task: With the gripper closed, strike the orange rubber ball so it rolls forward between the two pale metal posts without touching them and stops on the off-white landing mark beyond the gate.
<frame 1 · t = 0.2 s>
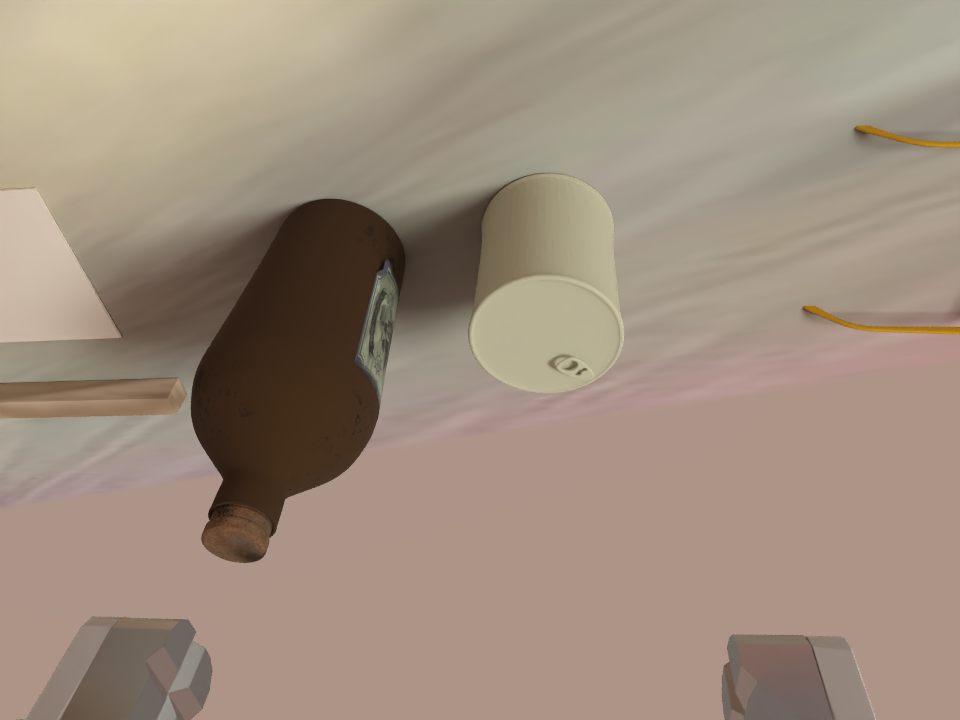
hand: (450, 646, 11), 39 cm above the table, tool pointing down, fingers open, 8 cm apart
landing mark: (0, 272, 58), on the table
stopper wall: (79, 389, 66), on the table
olive oil: (344, 252, 54), on the table
eyeglasses: (935, 217, 49), on the table
can: (547, 230, 51), on the table
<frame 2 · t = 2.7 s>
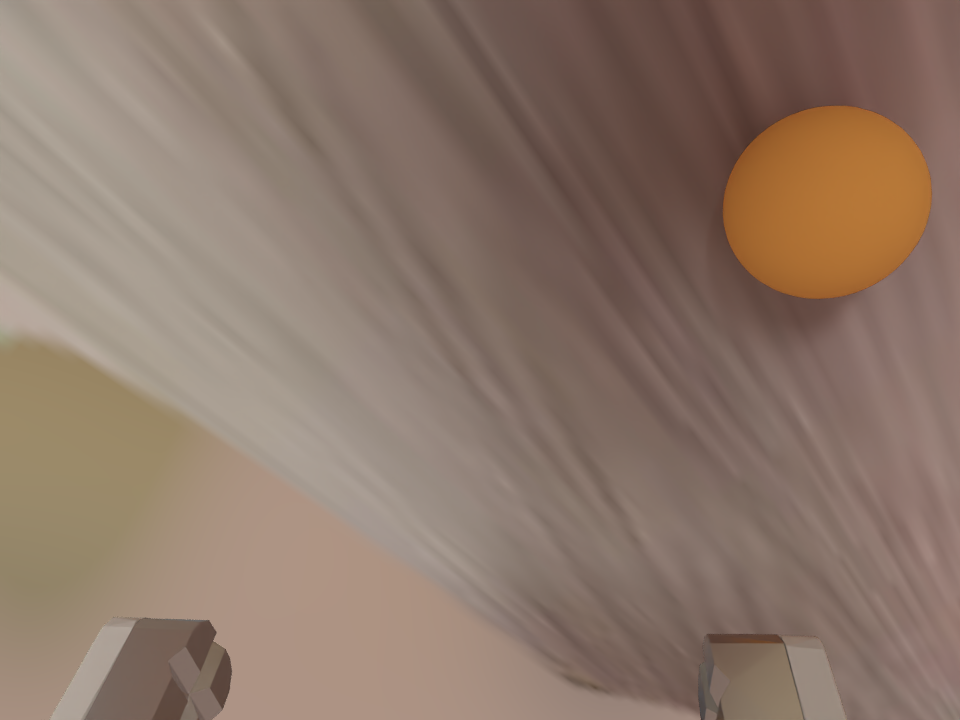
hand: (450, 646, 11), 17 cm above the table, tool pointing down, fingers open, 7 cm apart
ball: (821, 204, 21), on the table
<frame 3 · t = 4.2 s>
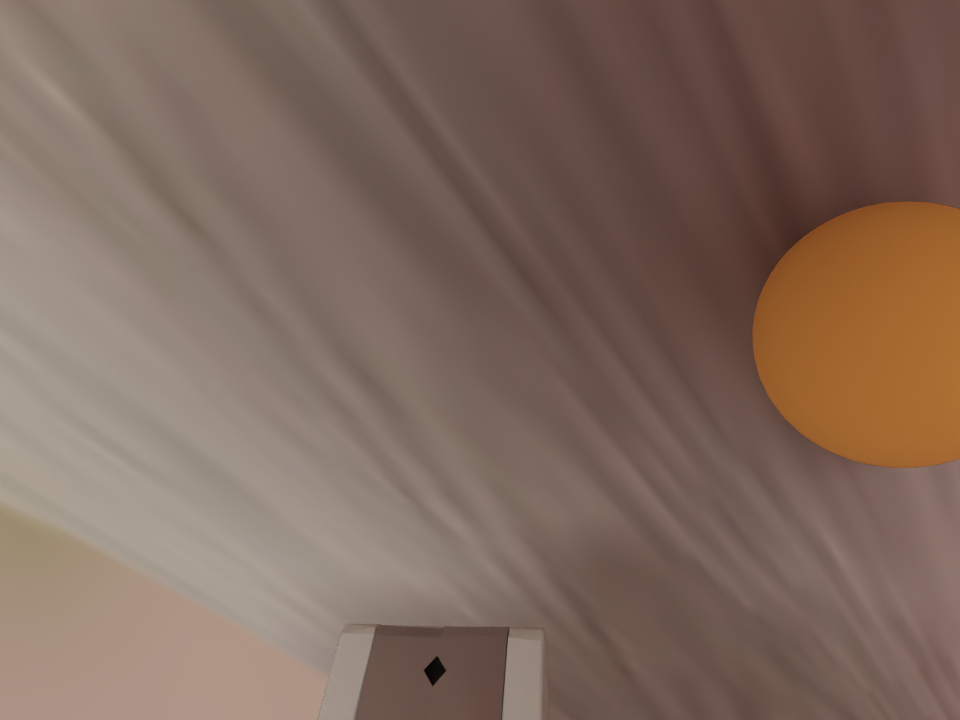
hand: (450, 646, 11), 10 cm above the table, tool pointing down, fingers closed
ball: (892, 335, 15), on the table
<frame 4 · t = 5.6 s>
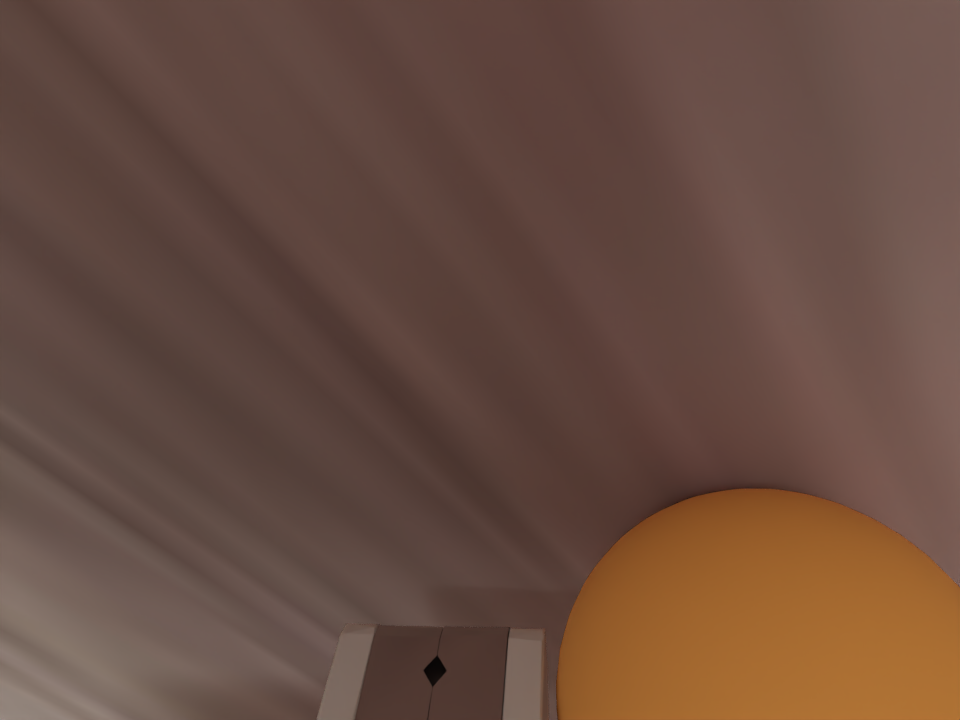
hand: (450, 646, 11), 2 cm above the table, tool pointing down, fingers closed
ball: (768, 702, 9), on the table
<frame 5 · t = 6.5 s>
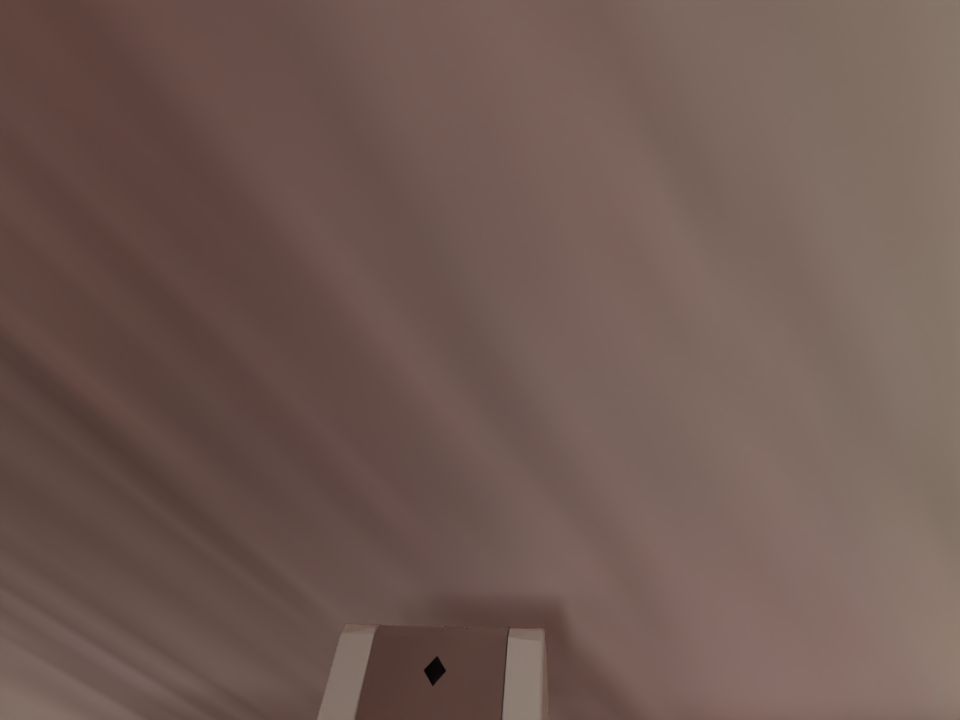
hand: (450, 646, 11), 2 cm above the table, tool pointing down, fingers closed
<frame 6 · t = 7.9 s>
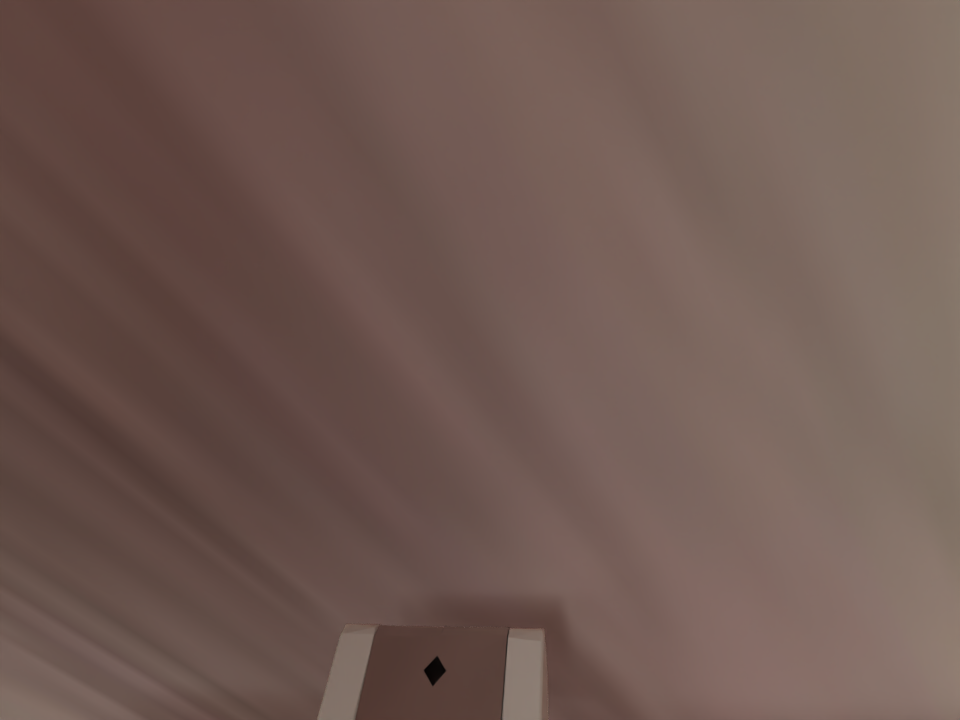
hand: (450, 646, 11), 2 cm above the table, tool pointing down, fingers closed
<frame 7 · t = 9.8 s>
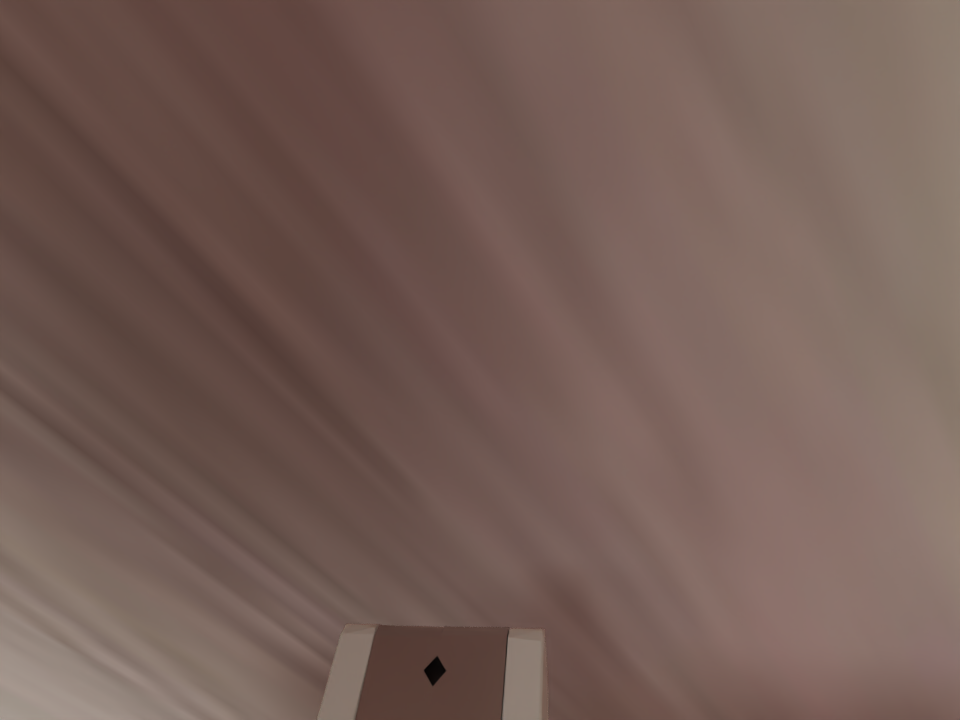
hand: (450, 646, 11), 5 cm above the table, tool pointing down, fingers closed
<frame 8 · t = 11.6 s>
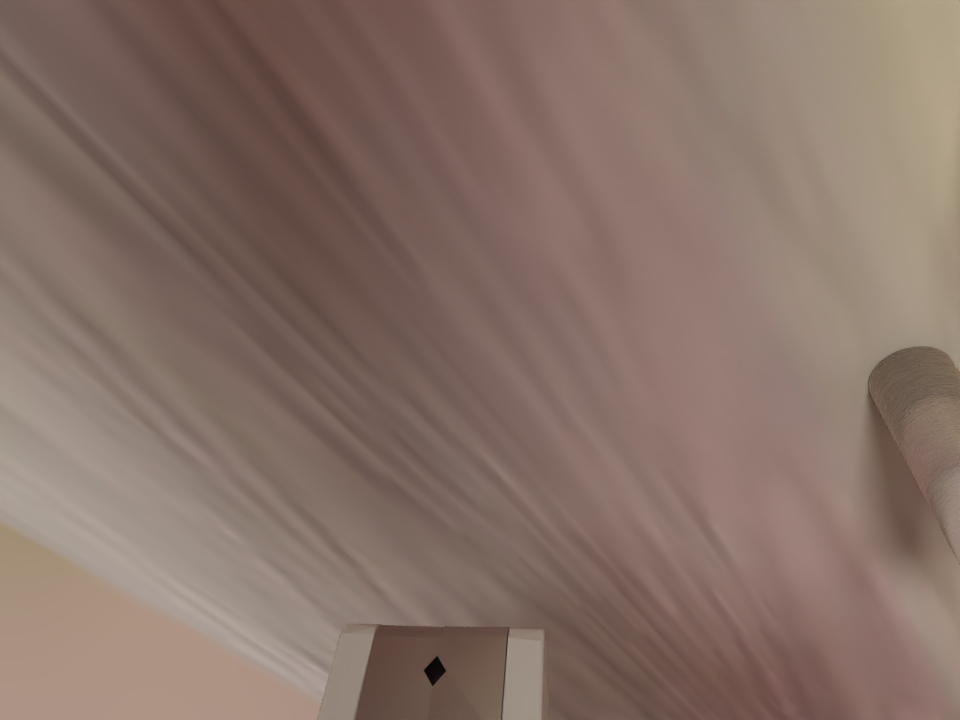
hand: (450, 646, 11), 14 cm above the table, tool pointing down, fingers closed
post 1: (910, 378, 24), on the table
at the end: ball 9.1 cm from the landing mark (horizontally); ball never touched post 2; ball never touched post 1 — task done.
